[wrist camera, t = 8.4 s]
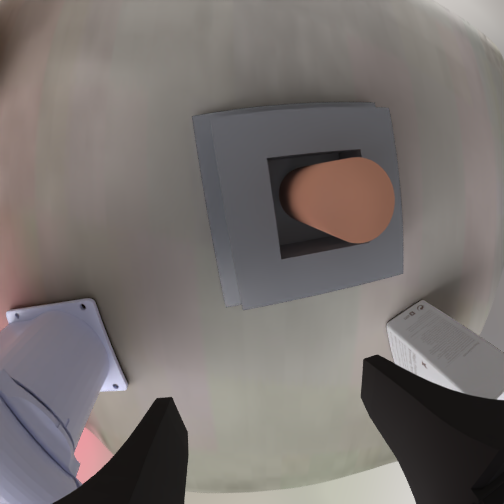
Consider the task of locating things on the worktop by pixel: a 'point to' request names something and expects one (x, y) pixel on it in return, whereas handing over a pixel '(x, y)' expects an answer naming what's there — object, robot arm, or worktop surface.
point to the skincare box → (446, 352)
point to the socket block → (269, 207)
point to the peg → (340, 198)
